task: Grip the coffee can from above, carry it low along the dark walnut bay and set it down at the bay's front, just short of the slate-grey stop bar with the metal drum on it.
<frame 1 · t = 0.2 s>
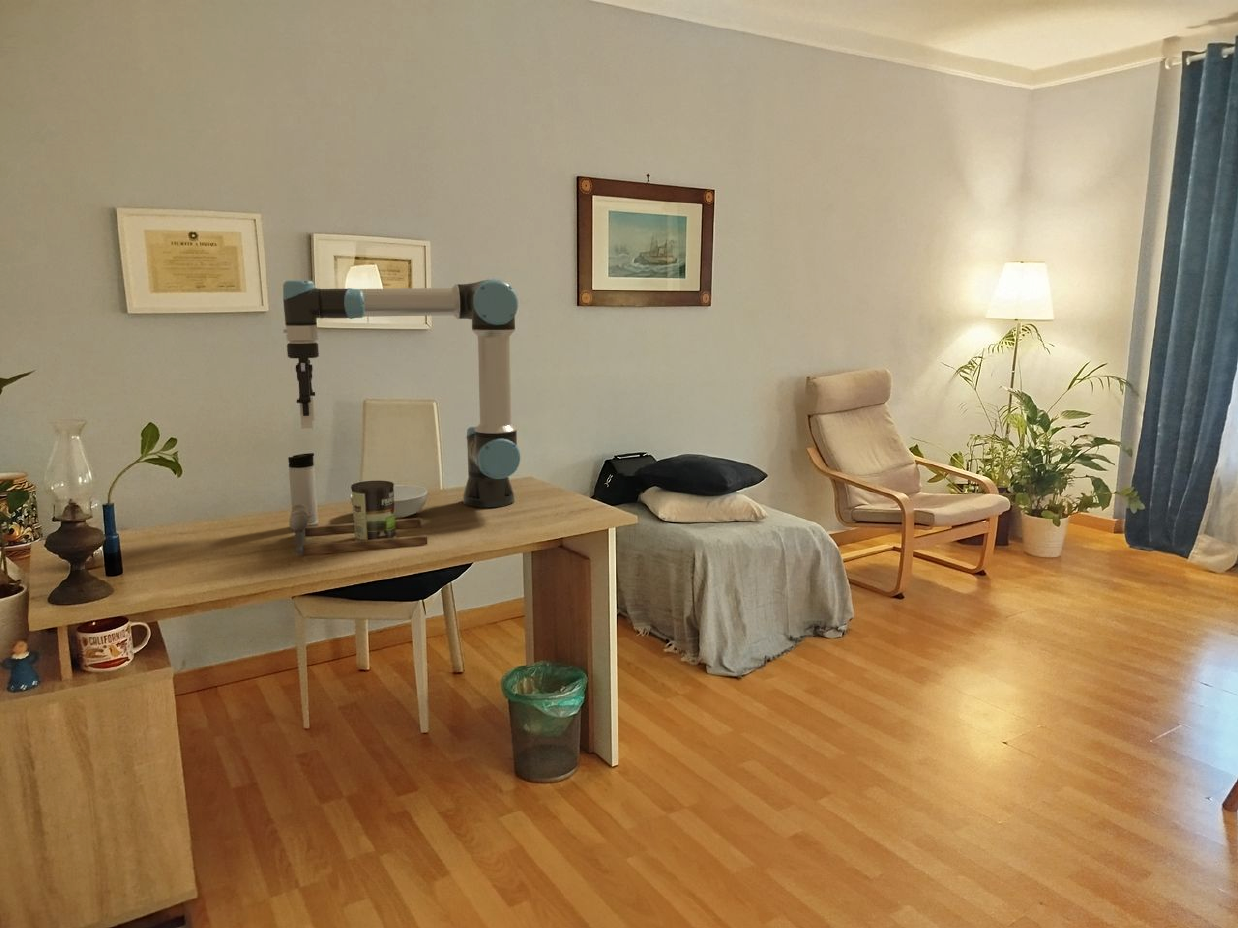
hand: (308, 424, 222), 28 cm above the table, tool pointing down, fingers open, 13 cm apart
coffee can: (375, 539, 216), resting in bay
travel mug: (306, 527, 227), on the table
bay: (363, 539, 215), on the table
serving bowl: (390, 517, 238), on the table
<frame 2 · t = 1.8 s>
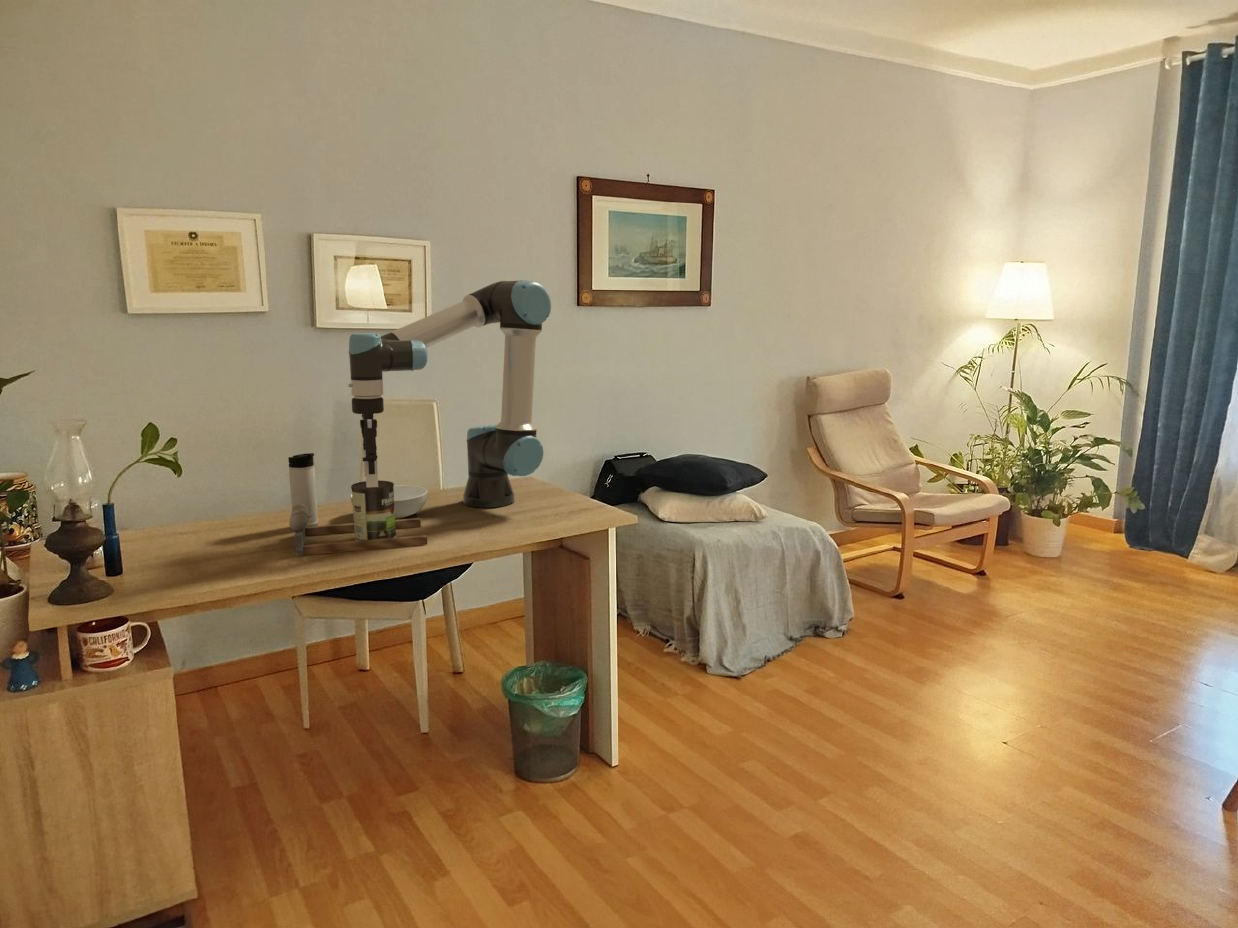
hand: (371, 481, 213), 15 cm above the table, tool pointing down, fingers open, 13 cm apart
nothing on the table moved.
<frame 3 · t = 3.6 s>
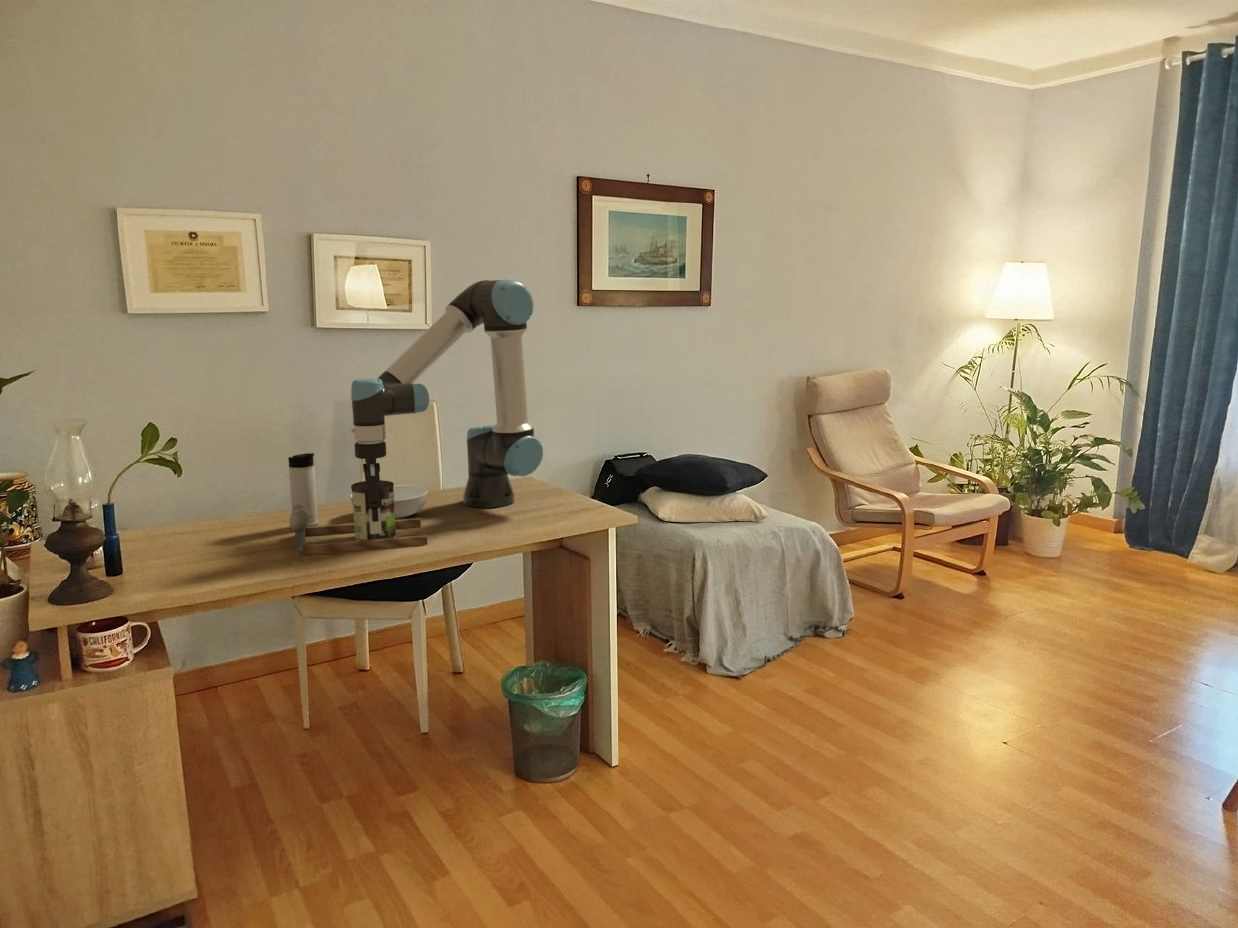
hand: (374, 527, 216), 3 cm above the table, tool pointing down, fingers closed on coffee can, 10 cm apart
coffee can: (375, 539, 216), resting in bay, touching gripper
everything else where it was.
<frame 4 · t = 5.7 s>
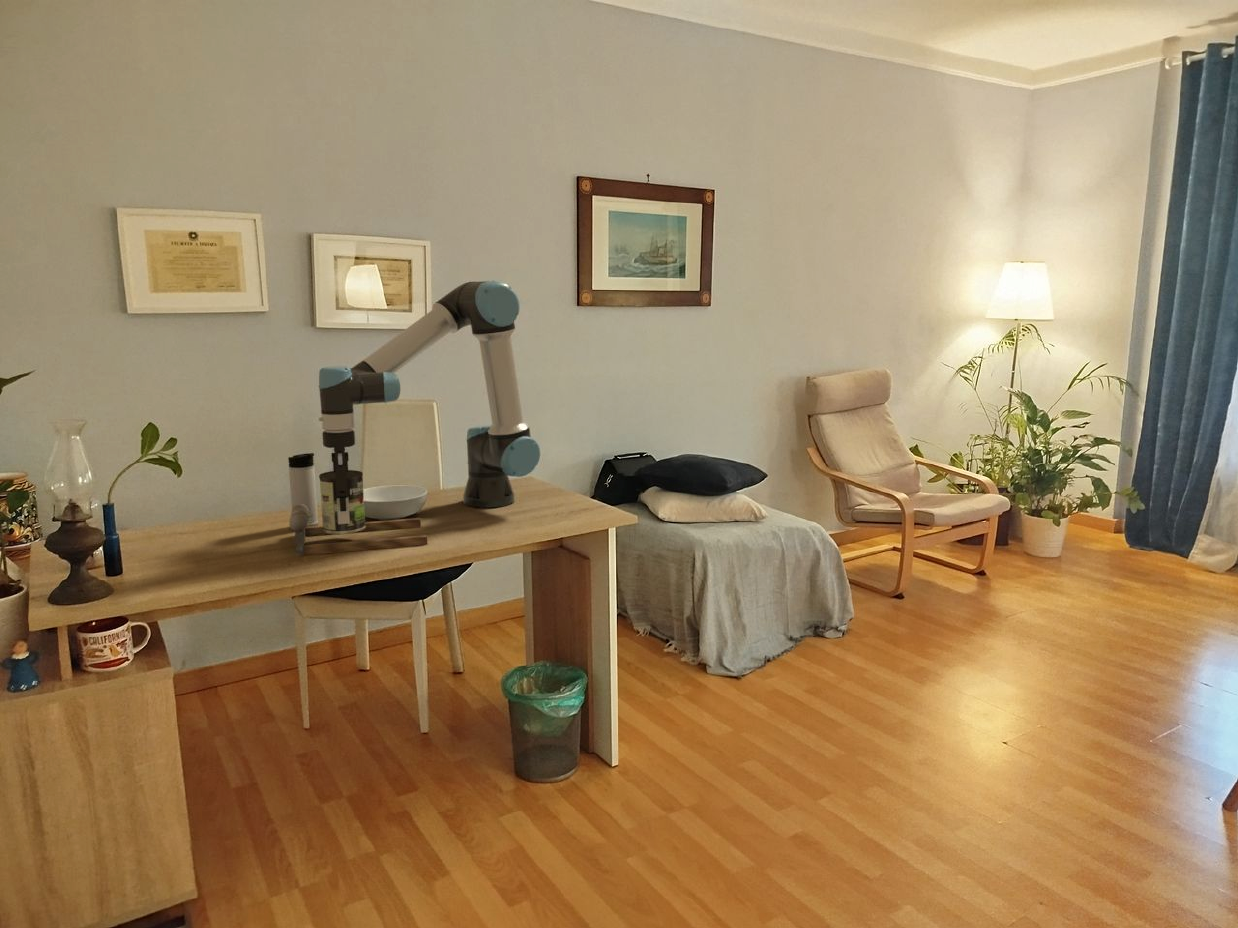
hand: (343, 518, 213), 6 cm above the table, tool pointing down, fingers closed on coffee can, 10 cm apart
coffee can: (344, 529, 213), point 3 cm above the table, touching gripper
everything else where it was.
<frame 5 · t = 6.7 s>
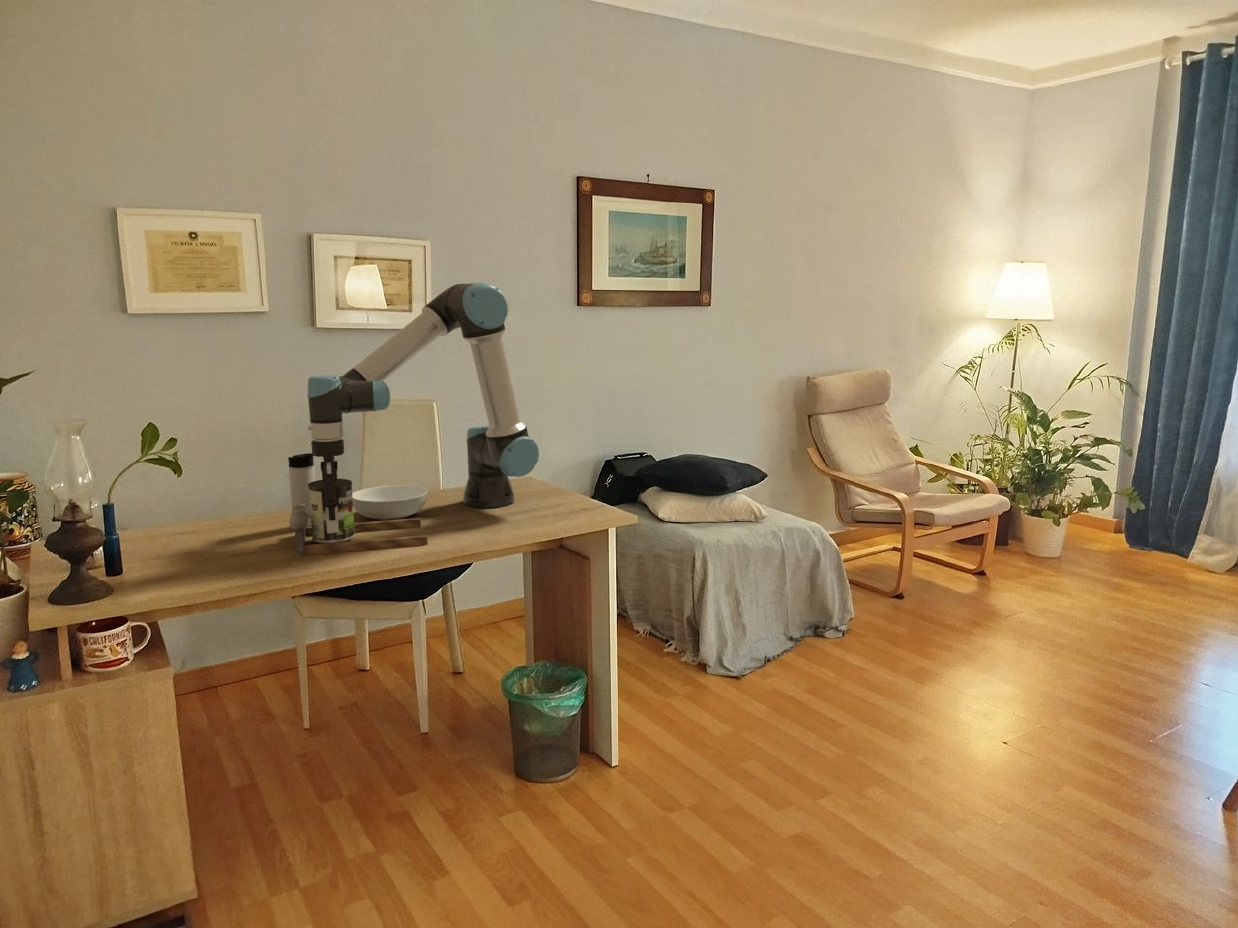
hand: (333, 526, 213), 4 cm above the table, tool pointing down, fingers closed on coffee can, 10 cm apart
coffee can: (333, 538, 213), point 1 cm above the table, touching gripper
everything else where it was.
when the fingers open (4 cm above the table, at t = 7.6 s): coffee can stays where it is, resting in bay.
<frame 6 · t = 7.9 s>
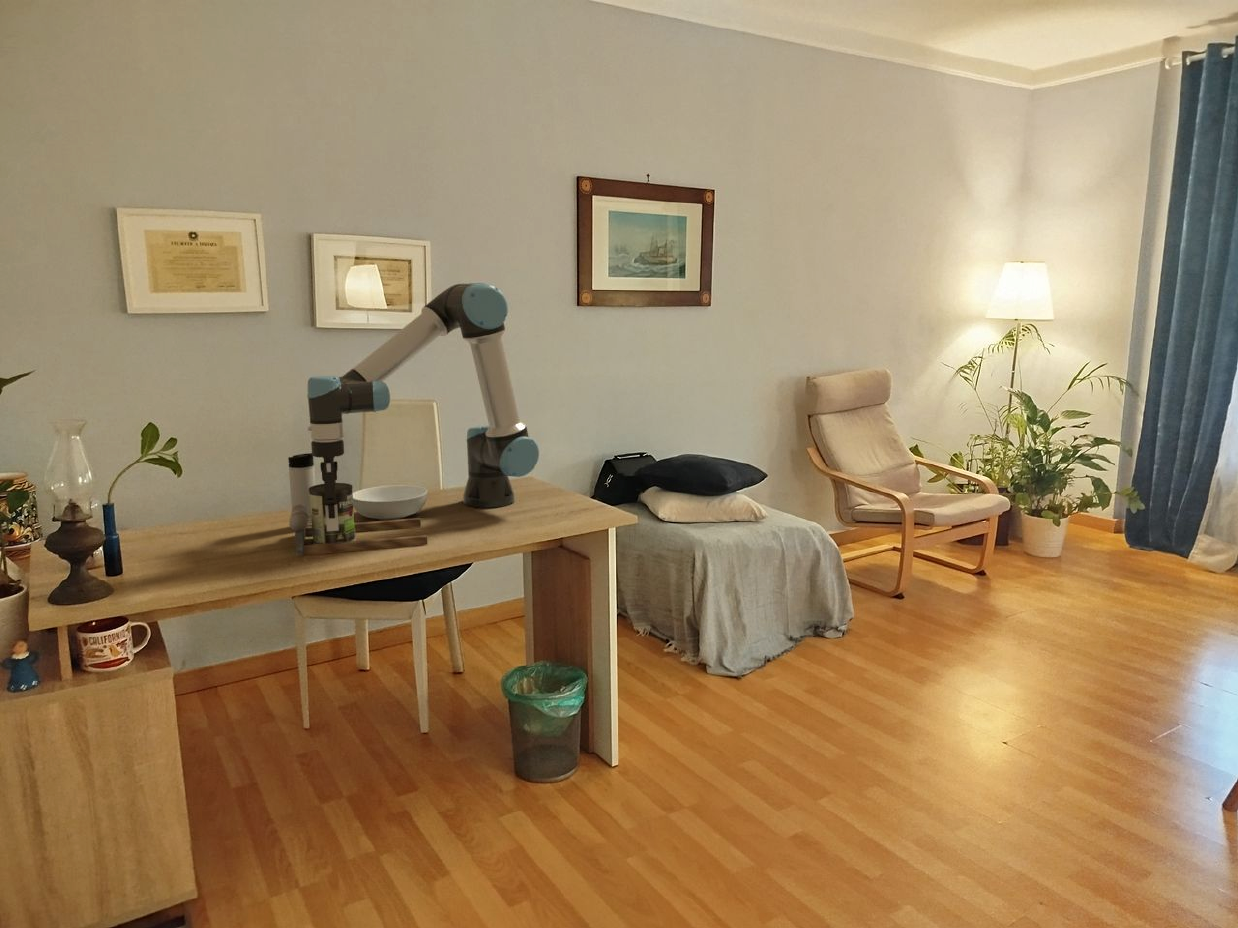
hand: (332, 523, 212), 5 cm above the table, tool pointing down, fingers open, 13 cm apart
coffee can: (334, 542, 214), resting in bay
everything else where it was.
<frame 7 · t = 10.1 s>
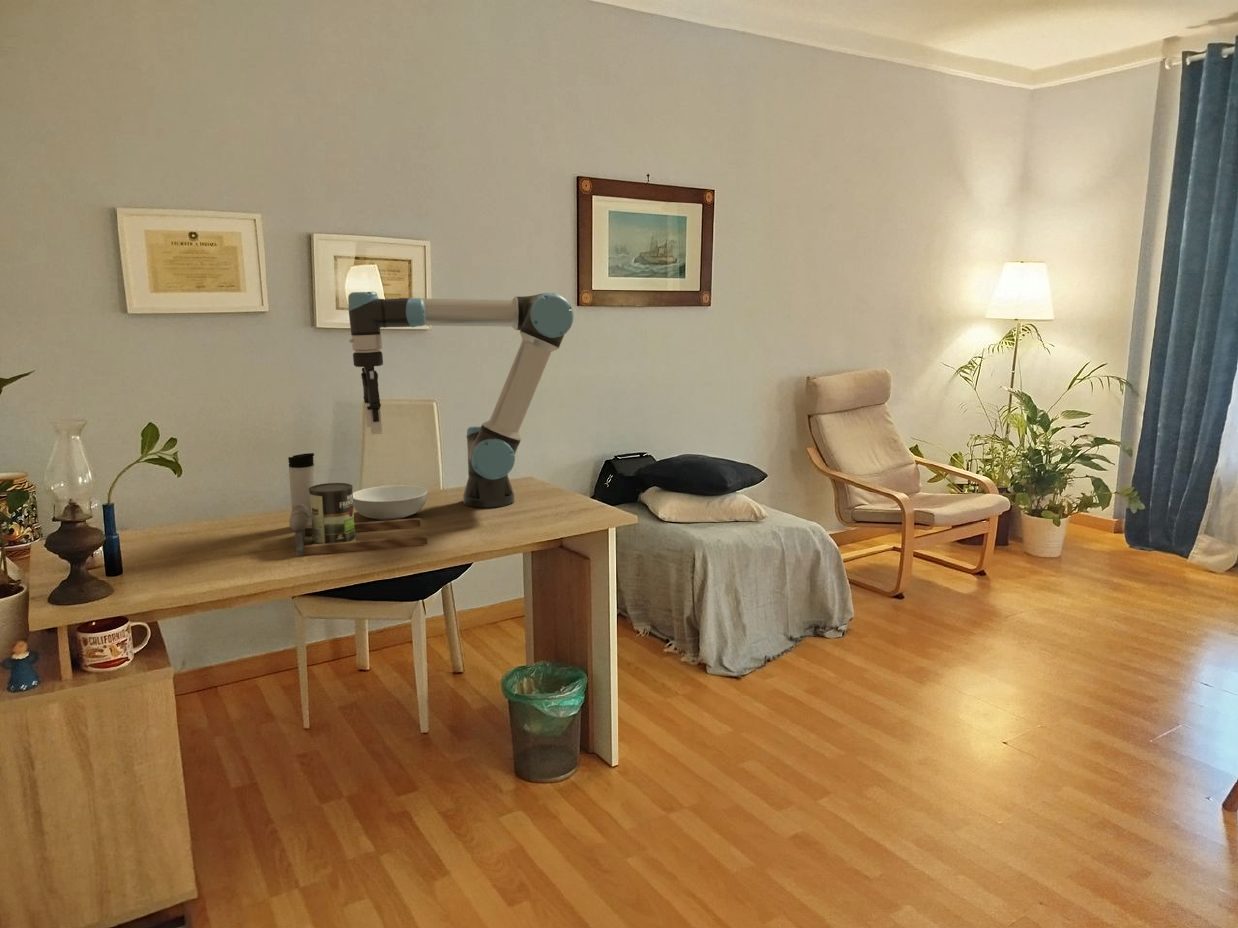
hand: (374, 430, 230), 25 cm above the table, tool pointing down, fingers open, 13 cm apart
nothing on the table moved.
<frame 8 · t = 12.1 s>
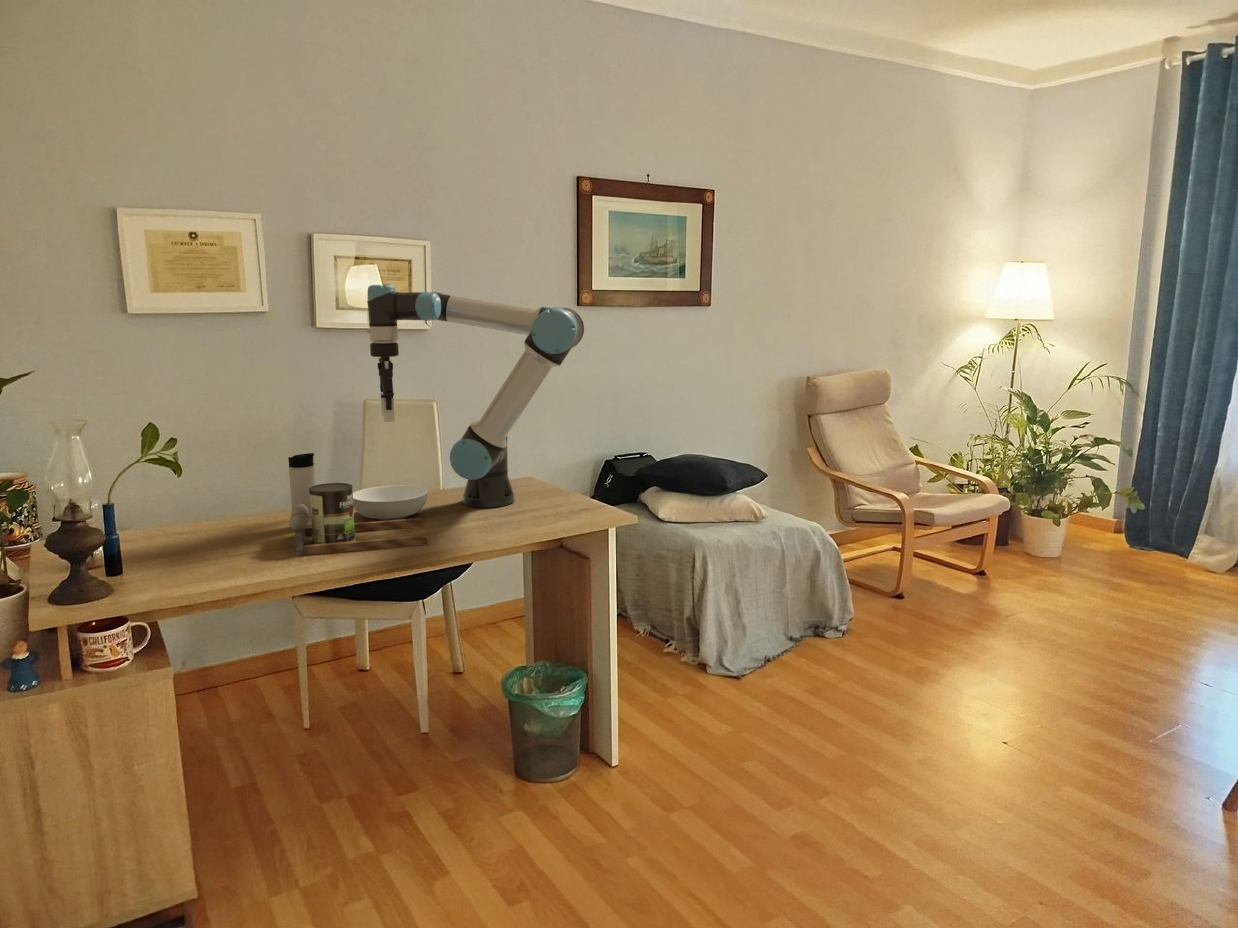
hand: (388, 418, 239), 27 cm above the table, tool pointing down, fingers open, 13 cm apart
nothing on the table moved.
at the end: coffee can inside the target area (1.6 cm from its centre), resting in bay; coffee can tilted 0°; the gripper is holding nothing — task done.
